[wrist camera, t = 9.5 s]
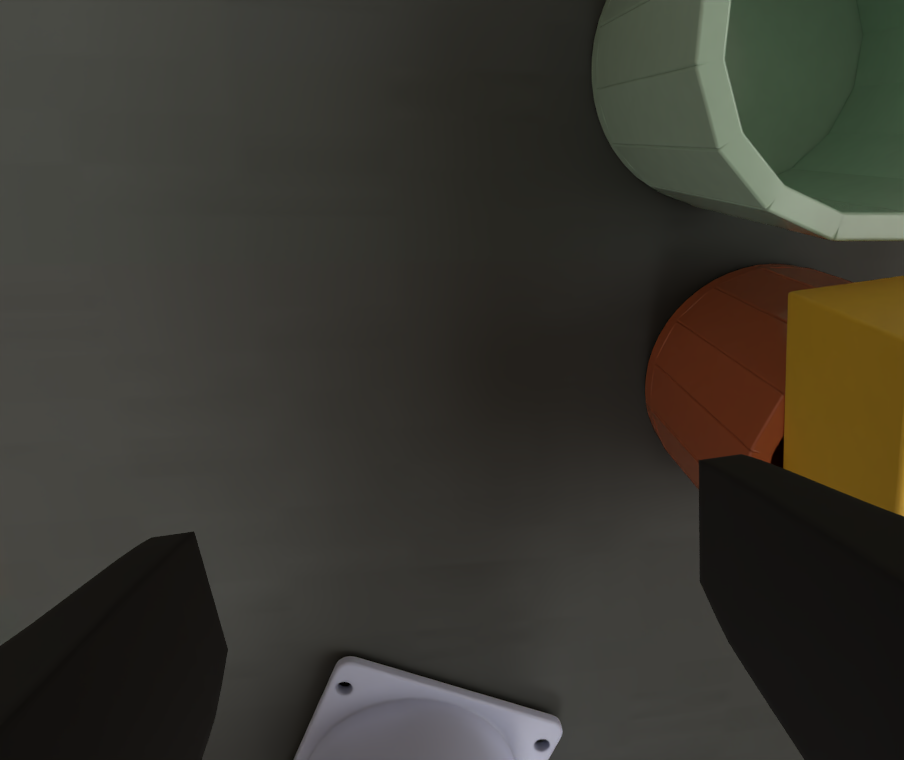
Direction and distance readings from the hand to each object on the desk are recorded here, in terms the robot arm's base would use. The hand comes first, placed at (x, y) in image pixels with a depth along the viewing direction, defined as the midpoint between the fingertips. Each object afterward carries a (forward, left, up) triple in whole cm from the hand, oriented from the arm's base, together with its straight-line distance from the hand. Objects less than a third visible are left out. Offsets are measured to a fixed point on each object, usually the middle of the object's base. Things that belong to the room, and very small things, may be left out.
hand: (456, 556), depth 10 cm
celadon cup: (+10, -4, -10) cm, 15 cm away
